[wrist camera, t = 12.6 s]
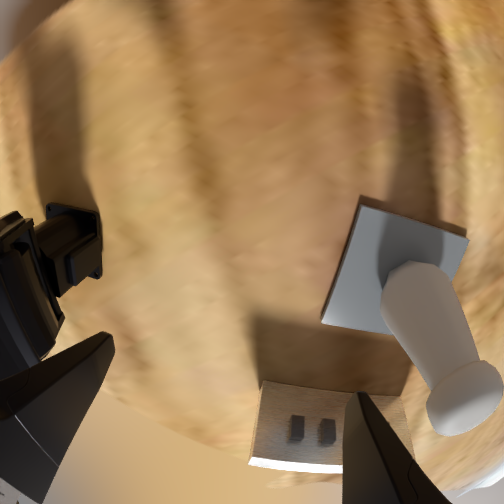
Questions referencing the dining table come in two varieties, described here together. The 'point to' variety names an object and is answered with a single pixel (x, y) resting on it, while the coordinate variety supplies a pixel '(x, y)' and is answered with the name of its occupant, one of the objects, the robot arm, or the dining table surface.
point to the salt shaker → (440, 347)
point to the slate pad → (384, 264)
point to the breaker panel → (310, 427)
